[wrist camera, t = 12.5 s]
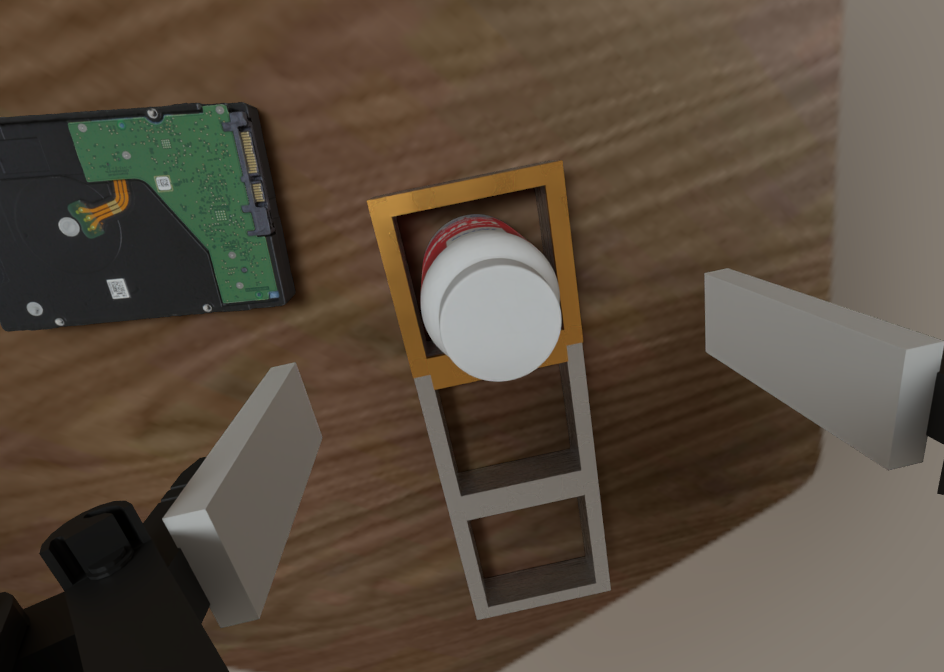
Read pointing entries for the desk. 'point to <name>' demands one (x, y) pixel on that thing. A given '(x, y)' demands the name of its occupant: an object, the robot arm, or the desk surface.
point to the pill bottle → (489, 298)
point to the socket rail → (436, 370)
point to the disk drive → (137, 216)
